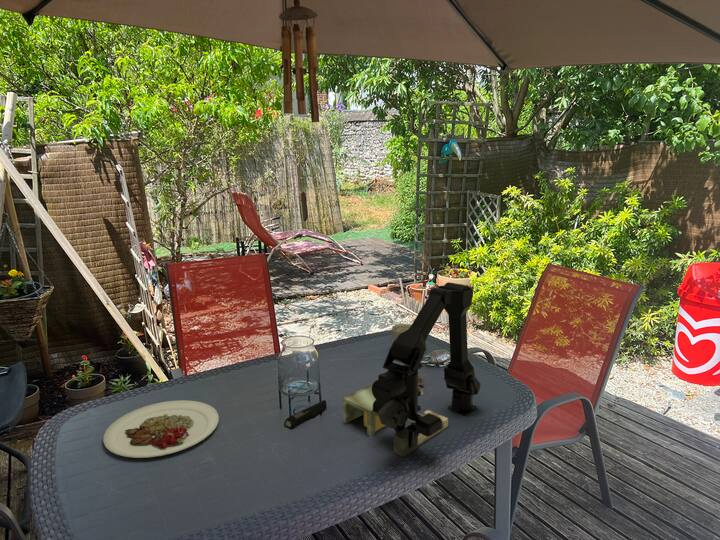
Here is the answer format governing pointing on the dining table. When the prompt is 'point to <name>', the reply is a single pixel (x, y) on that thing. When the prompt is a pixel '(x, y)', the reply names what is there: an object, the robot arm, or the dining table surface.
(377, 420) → the ochre cube
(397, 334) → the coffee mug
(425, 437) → the crook tool
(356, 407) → the sage cubby
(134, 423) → the plated food
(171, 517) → the dining table surface
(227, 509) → the dining table surface
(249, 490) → the dining table surface
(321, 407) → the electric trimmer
